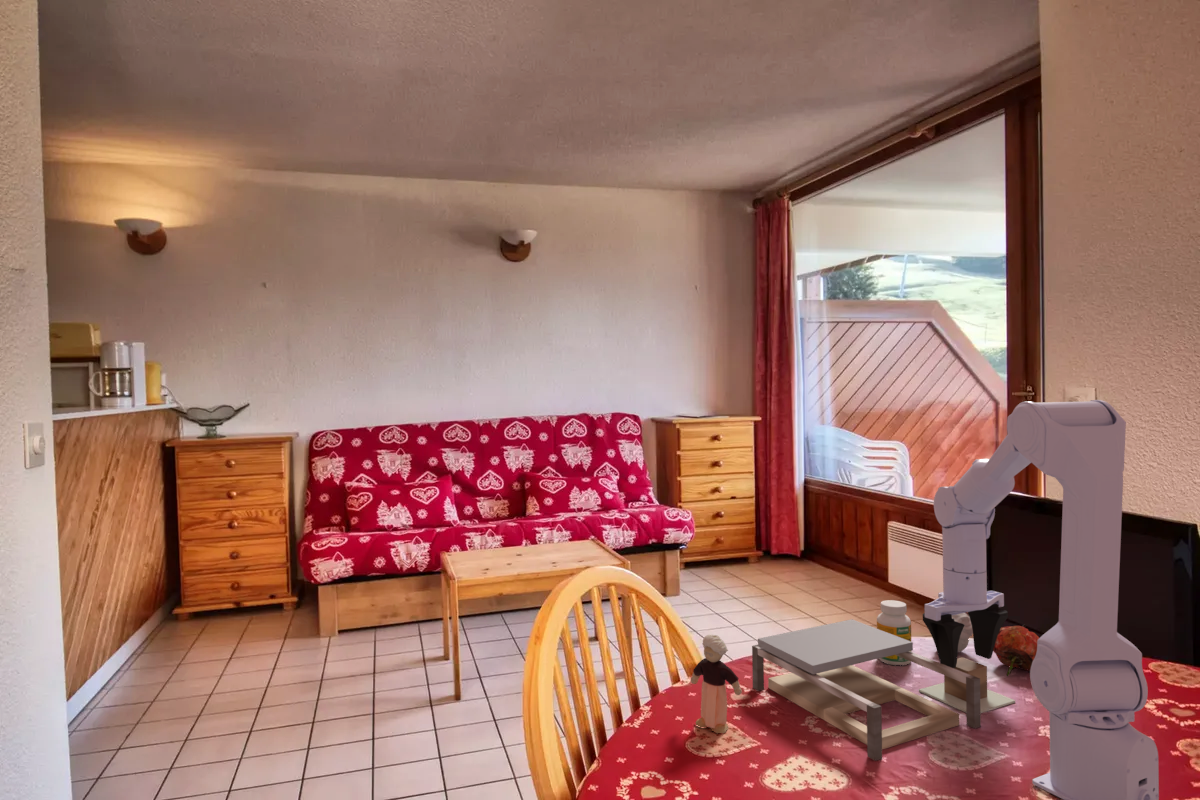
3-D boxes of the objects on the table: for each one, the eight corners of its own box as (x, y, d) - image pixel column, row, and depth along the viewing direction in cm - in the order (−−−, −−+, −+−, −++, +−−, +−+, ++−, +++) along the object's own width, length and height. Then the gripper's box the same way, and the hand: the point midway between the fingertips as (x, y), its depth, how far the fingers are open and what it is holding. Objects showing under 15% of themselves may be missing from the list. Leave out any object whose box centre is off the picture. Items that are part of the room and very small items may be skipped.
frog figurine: (982, 659, 119) (982, 617, 119) (938, 657, 120) (937, 616, 120) (970, 646, 125) (969, 606, 124) (927, 644, 126) (927, 605, 126)
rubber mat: (1015, 702, 102) (1015, 700, 102) (972, 715, 98) (972, 713, 98) (960, 679, 110) (960, 678, 110) (918, 691, 107) (918, 689, 107)
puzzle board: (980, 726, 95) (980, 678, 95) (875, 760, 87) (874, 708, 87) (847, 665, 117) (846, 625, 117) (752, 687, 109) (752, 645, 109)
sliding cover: (912, 650, 105) (912, 642, 105) (813, 674, 97) (812, 665, 97) (852, 626, 116) (852, 619, 116) (758, 646, 108) (757, 638, 108)
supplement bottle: (890, 652, 123) (889, 596, 122) (918, 661, 118) (917, 604, 118) (870, 659, 120) (869, 602, 120) (899, 669, 115) (898, 610, 115)
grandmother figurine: (683, 728, 97) (682, 635, 96) (693, 716, 100) (692, 626, 100) (739, 740, 93) (737, 644, 93) (747, 727, 96) (745, 634, 96)
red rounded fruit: (1039, 696, 109) (1062, 645, 114) (1018, 663, 108) (1042, 613, 112) (993, 684, 116) (1016, 637, 120) (972, 653, 114) (996, 606, 118)
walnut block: (987, 697, 104) (986, 666, 104) (968, 702, 102) (967, 671, 102) (963, 686, 107) (962, 657, 107) (944, 692, 106) (944, 661, 105)
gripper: (973, 557, 111) (974, 644, 111) (906, 569, 105) (908, 660, 105) (1016, 567, 105) (1018, 659, 105) (948, 579, 98) (949, 677, 98)
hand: (966, 661), depth 104 cm, fingers open, 7 cm apart
